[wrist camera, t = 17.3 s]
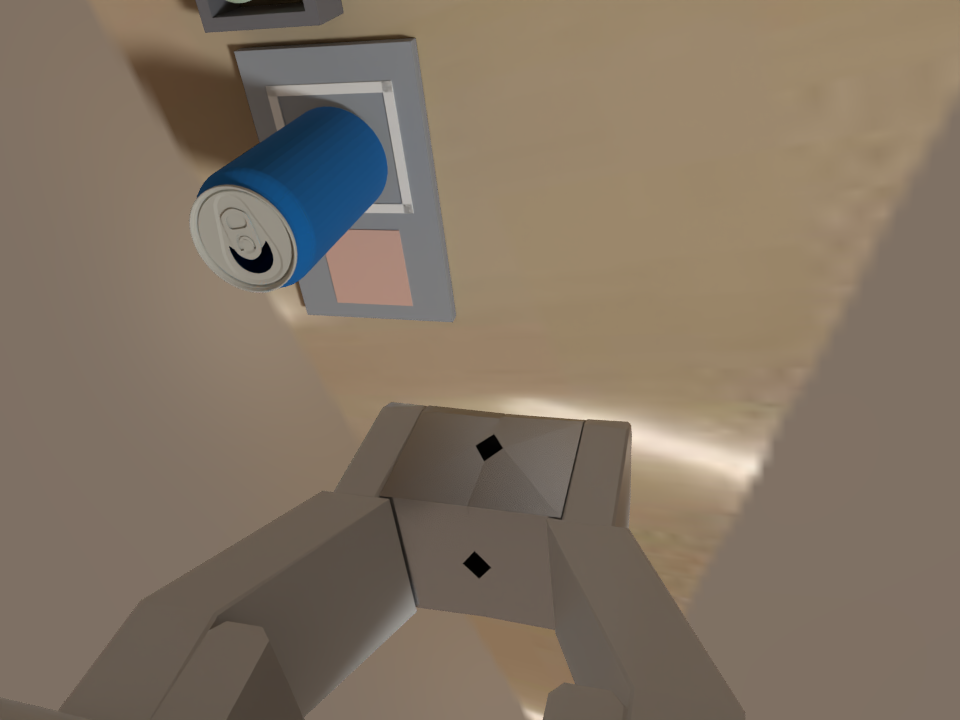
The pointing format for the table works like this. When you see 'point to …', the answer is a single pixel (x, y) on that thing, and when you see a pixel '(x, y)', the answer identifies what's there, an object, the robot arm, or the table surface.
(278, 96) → the picture board
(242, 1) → the button
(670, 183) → the table surface
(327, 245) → the beverage can
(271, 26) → the button housing
